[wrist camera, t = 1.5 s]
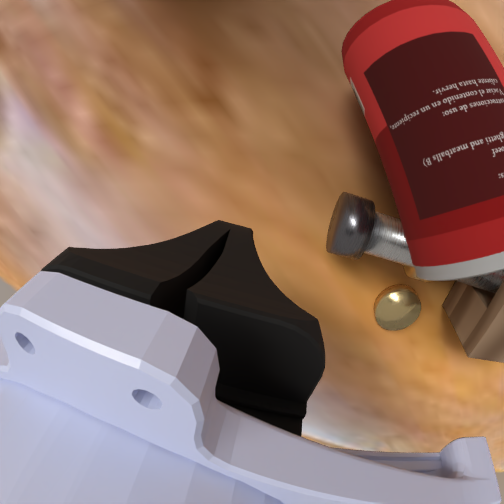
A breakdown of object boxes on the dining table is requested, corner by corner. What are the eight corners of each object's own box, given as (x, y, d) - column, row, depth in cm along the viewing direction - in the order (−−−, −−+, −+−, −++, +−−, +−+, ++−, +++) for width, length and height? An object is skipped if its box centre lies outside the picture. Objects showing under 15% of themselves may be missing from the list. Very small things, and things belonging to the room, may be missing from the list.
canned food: (412, 80, 17) (471, 245, 16) (308, 72, 14) (380, 286, 14) (491, 20, 9) (577, 224, 9) (392, -32, 7) (531, 275, 6)
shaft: (324, 237, 20) (327, 266, 16) (342, 182, 18) (351, 202, 15) (478, 284, 19) (498, 313, 16) (499, 241, 17) (524, 266, 14)
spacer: (424, 288, 22) (429, 297, 21) (404, 324, 24) (407, 334, 23) (384, 277, 22) (388, 286, 21) (365, 315, 24) (368, 325, 23)
